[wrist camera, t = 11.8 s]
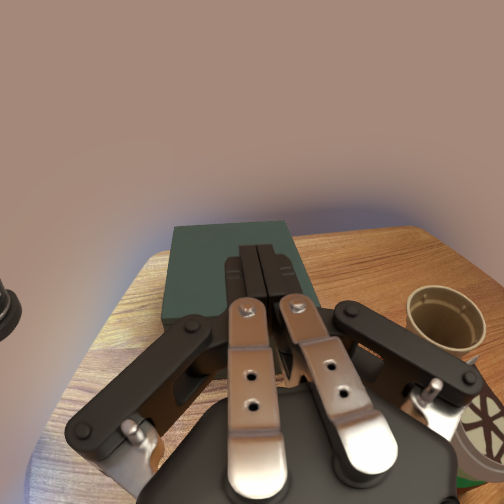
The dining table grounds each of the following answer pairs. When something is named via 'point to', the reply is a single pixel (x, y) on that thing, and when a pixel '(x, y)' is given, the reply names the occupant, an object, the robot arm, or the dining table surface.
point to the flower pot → (445, 319)
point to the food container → (480, 440)
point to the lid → (218, 265)
